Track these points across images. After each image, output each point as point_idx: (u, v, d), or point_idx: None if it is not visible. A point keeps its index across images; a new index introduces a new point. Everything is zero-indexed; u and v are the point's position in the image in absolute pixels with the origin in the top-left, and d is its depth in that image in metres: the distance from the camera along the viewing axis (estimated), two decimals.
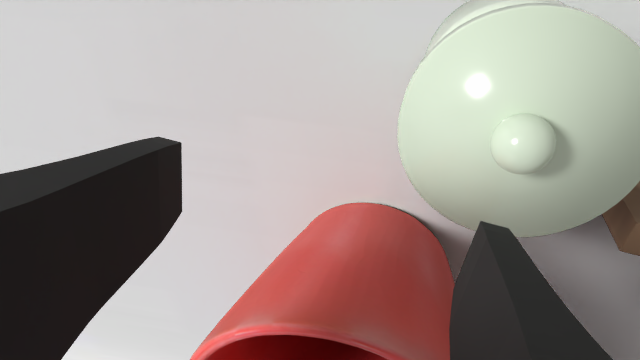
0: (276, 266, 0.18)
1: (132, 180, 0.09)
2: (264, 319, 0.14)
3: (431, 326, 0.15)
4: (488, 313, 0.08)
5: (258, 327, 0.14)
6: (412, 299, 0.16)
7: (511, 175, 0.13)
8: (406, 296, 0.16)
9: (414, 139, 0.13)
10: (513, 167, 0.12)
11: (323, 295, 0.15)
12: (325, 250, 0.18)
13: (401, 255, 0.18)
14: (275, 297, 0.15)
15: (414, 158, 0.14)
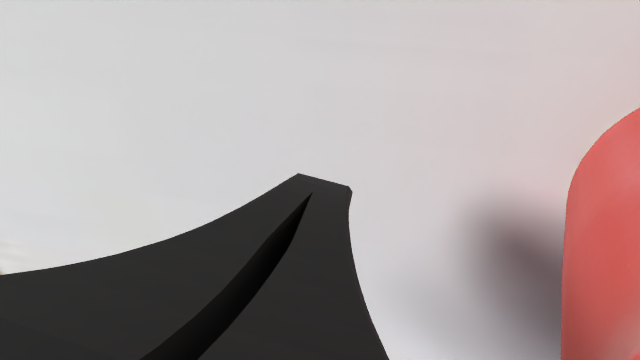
0: None
1: (295, 226, 0.09)
2: None
3: None
4: None
5: None
6: None
7: None
8: None
9: None
10: None
11: None
12: None
13: None
14: None
15: None
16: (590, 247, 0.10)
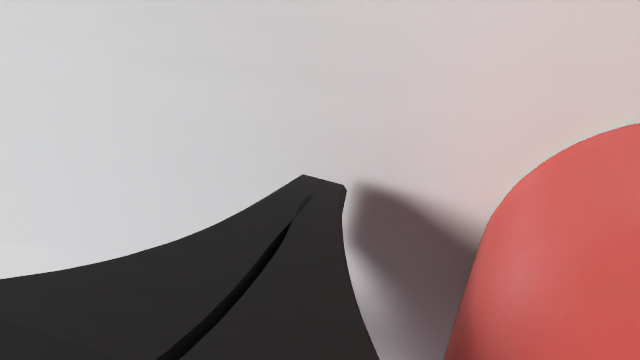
0: (639, 274, 0.05)
1: None
2: None
3: None
4: None
5: None
6: None
7: None
8: None
9: None
10: None
11: None
12: None
13: None
14: None
15: None
16: None
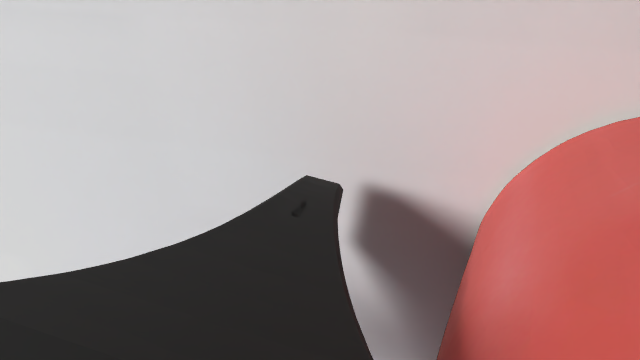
0: (624, 269, 0.05)
1: None
2: None
3: None
4: None
5: None
6: None
7: None
8: None
9: None
10: None
11: None
12: None
13: None
14: None
15: None
16: None
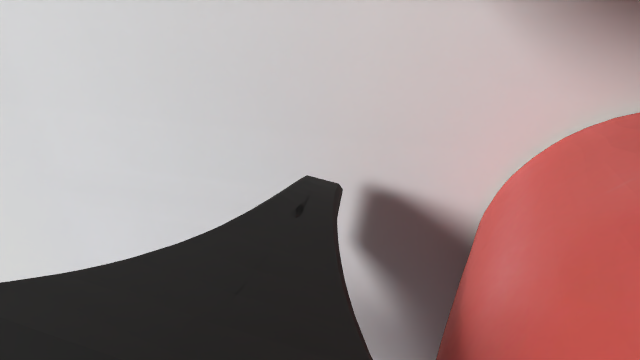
0: (619, 264, 0.05)
1: None
2: None
3: None
4: None
5: None
6: None
7: None
8: None
9: None
10: None
11: None
12: None
13: None
14: None
15: None
16: None
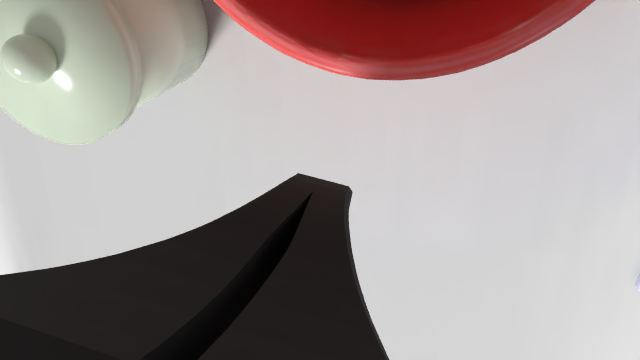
0: None
1: (295, 226, 0.09)
2: None
3: None
4: None
5: None
6: None
7: (70, 58, 0.16)
8: None
9: (71, 132, 0.17)
10: (25, 71, 0.15)
11: None
12: None
13: None
14: None
15: (85, 133, 0.17)
16: None
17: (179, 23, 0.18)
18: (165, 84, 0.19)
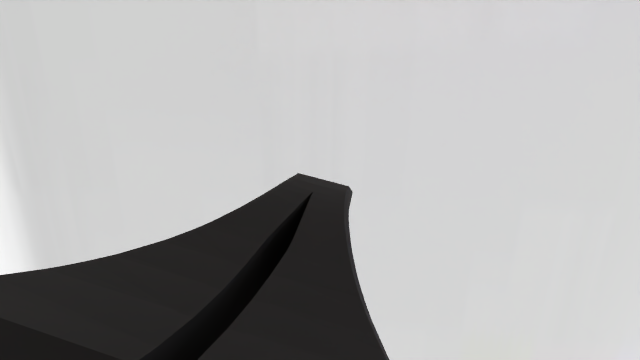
0: None
1: (295, 226, 0.09)
2: None
3: None
4: None
5: None
6: None
7: None
8: None
9: None
10: None
11: None
12: None
13: None
14: None
15: None
16: None
17: None
18: None
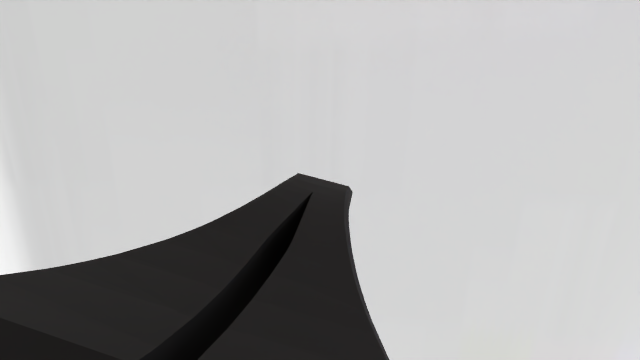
0: None
1: (295, 225, 0.09)
2: None
3: None
4: None
5: None
6: None
7: None
8: None
9: None
10: None
11: None
12: None
13: None
14: None
15: None
16: None
17: None
18: None
